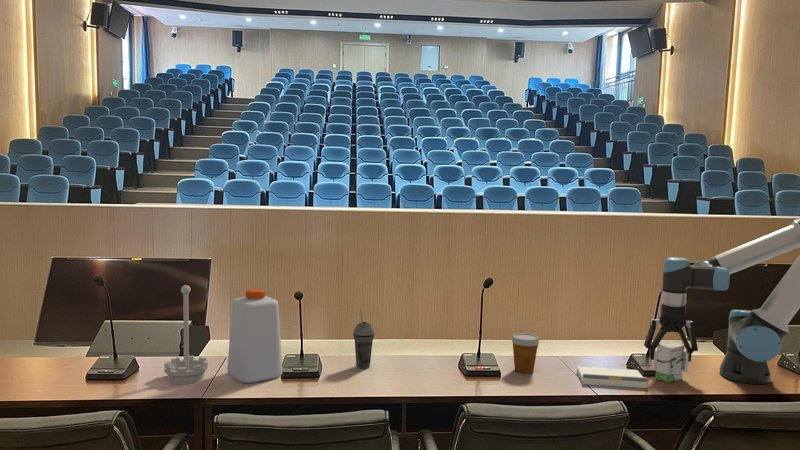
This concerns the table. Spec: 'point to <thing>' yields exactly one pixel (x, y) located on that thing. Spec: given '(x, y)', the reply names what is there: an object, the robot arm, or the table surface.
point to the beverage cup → (363, 343)
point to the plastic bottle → (254, 338)
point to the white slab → (611, 377)
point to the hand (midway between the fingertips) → (669, 369)
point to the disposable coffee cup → (524, 351)
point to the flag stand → (186, 355)
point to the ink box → (669, 361)
